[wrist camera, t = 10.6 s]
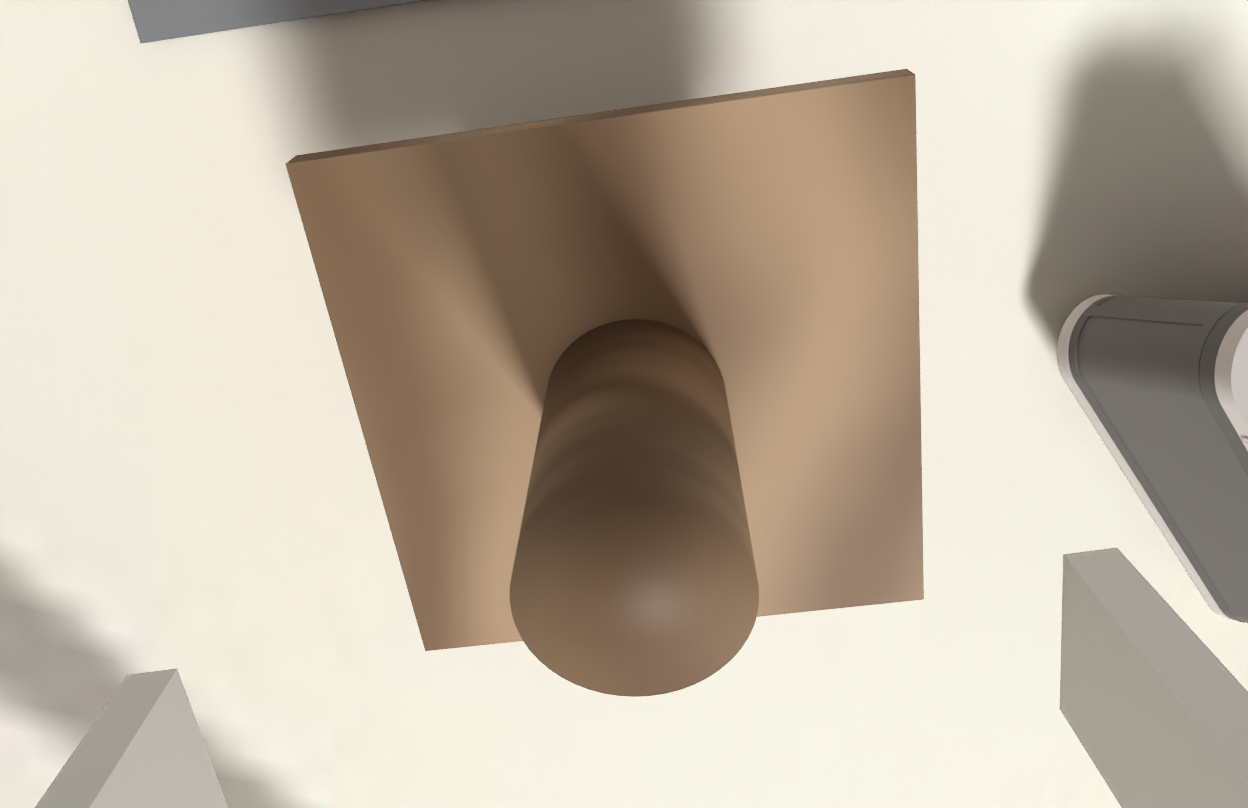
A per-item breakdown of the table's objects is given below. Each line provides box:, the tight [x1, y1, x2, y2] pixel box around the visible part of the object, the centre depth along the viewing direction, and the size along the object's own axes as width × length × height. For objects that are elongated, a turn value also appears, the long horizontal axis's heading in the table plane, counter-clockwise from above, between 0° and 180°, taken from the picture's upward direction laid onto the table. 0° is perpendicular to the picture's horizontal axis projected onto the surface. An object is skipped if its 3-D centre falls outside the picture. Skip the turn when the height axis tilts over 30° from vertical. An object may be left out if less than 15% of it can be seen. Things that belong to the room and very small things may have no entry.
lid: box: [286, 69, 924, 696], centre depth 23 cm, size 14×14×9 cm
